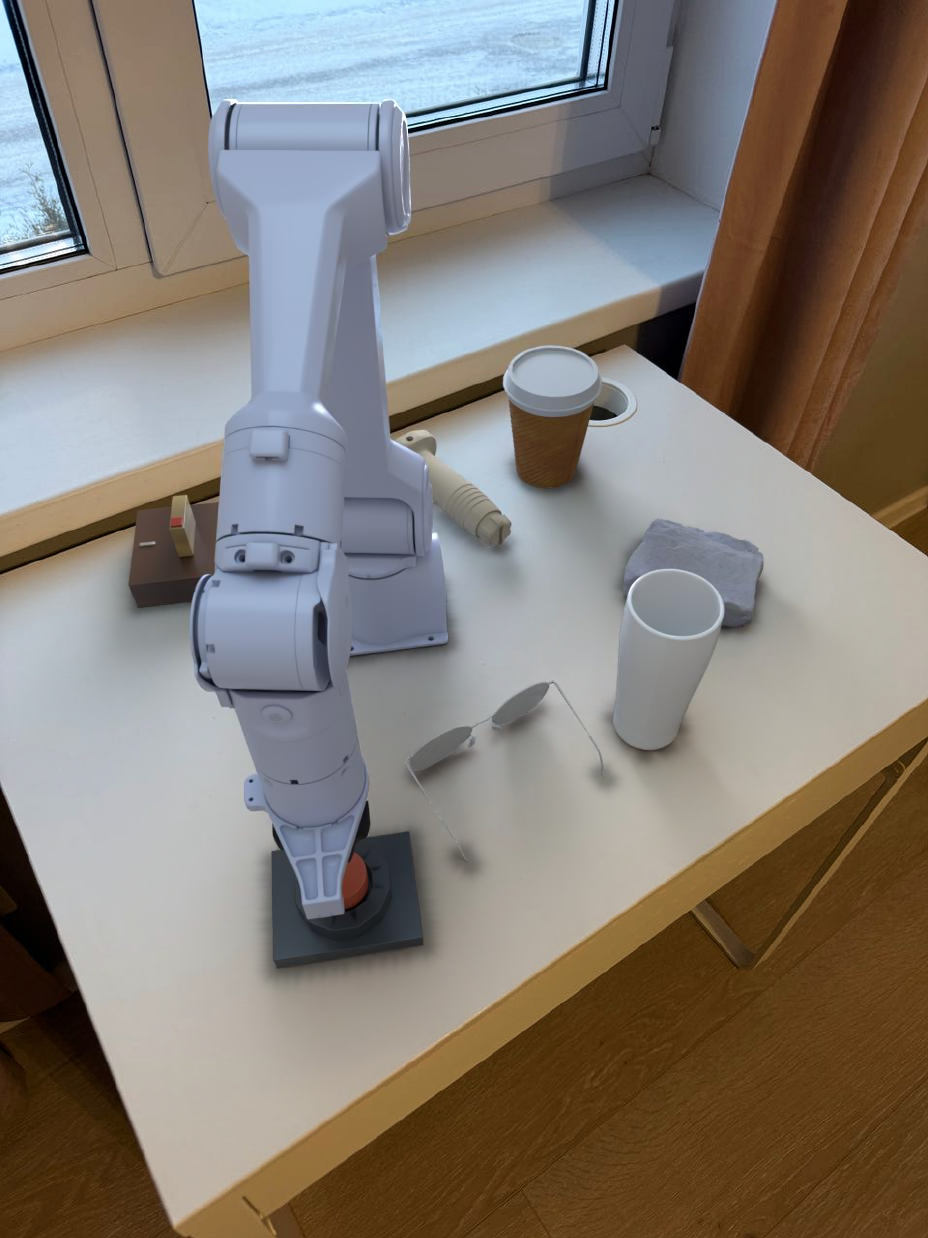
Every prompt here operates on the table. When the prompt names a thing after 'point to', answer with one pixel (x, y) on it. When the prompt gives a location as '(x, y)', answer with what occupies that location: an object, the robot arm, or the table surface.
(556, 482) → the disposable coffee cup
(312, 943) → the block
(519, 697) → the sunglasses
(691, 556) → the stone block
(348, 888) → the bell button
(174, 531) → the thumbturn
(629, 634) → the drinking glass
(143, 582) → the plate
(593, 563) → the table surface
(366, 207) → the robot arm
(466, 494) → the handle
